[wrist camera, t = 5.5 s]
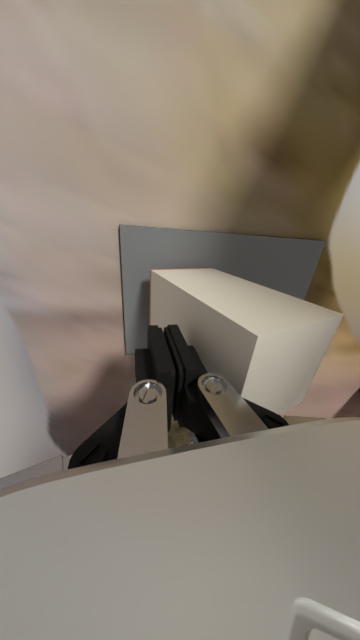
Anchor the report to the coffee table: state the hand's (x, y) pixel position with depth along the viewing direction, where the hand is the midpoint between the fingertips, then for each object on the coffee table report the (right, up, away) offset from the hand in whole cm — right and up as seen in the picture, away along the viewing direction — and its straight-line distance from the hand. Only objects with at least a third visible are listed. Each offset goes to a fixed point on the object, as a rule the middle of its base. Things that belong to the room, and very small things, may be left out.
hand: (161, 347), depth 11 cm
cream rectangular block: (+1, +3, +7) cm, 8 cm away
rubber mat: (+6, +4, +9) cm, 11 cm away
